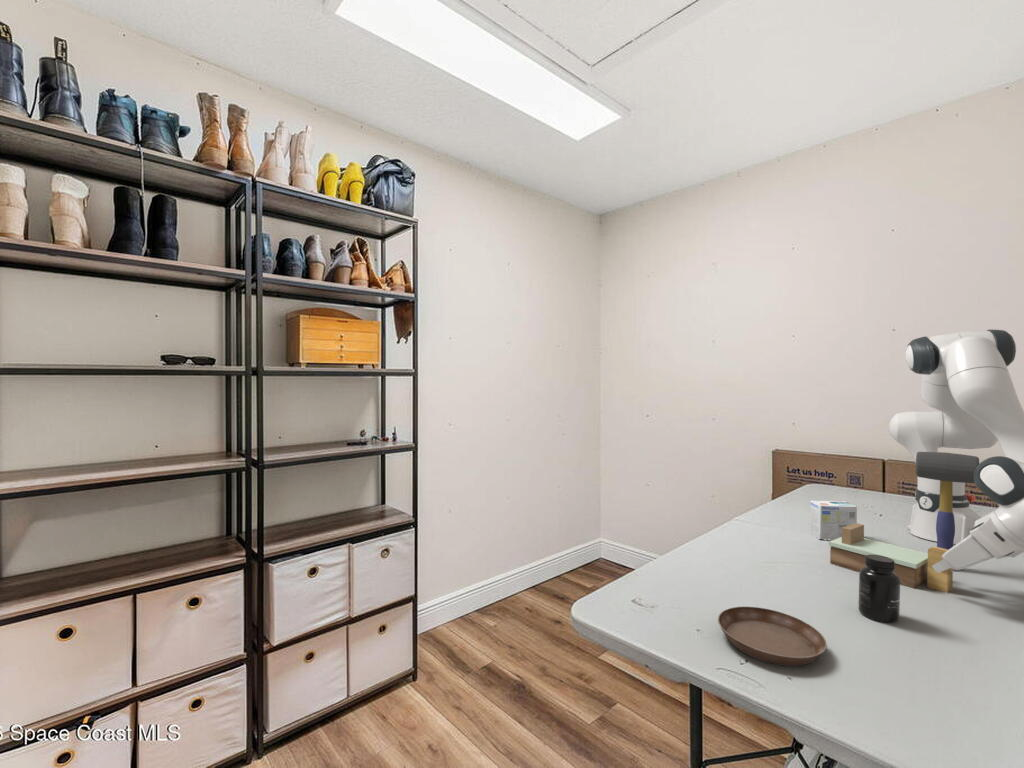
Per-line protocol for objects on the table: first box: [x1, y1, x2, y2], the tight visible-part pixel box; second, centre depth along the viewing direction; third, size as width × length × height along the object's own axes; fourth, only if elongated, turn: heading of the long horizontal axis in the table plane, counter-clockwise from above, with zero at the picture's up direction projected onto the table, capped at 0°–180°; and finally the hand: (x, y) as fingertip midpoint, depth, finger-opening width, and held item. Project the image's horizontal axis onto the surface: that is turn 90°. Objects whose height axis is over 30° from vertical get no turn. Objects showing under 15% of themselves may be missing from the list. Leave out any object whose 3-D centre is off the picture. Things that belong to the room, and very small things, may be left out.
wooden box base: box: [829, 546, 928, 589], centre depth 124 cm, size 11×18×4 cm, turn 33°
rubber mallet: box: [915, 451, 980, 550], centre depth 127 cm, size 12×8×30 cm, turn 47°
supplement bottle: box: [858, 554, 901, 624], centre depth 101 cm, size 7×7×12 cm
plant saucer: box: [717, 606, 828, 667], centre depth 90 cm, size 18×18×3 cm
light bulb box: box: [809, 500, 858, 541], centre depth 150 cm, size 11×7×11 cm, turn 84°
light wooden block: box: [926, 546, 954, 594], centre depth 114 cm, size 4×4×9 cm
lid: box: [828, 522, 928, 569], centre depth 124 cm, size 12×19×5 cm, turn 33°
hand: (942, 564), depth 114 cm, fingers open, 8 cm apart
